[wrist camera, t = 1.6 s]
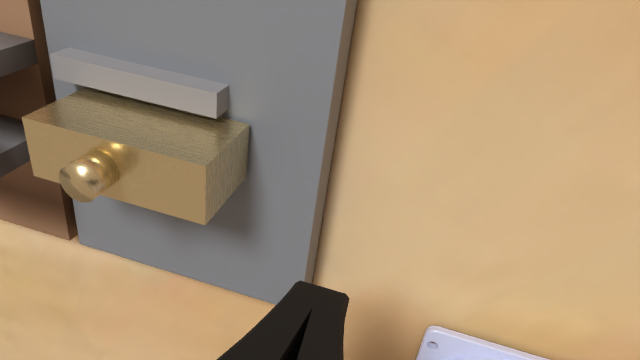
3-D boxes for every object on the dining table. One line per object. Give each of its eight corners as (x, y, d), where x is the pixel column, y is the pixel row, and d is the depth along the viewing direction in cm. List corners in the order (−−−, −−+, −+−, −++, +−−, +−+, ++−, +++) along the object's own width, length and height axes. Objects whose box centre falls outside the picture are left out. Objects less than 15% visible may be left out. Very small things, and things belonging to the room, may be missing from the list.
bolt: (246, 177, 20) (188, 245, 16) (96, 137, 21) (8, 191, 17) (249, 124, 19) (187, 184, 15) (90, 84, 20) (-7, 130, 16)
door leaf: (311, 284, 25) (292, 327, 23) (104, 222, 27) (66, 255, 25) (367, -61, 17) (347, -55, 14) (62, -113, 19) (-3, -115, 16)
